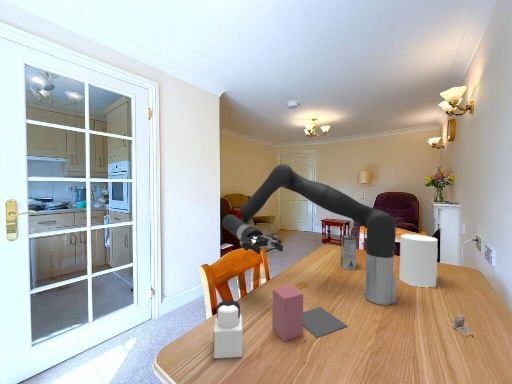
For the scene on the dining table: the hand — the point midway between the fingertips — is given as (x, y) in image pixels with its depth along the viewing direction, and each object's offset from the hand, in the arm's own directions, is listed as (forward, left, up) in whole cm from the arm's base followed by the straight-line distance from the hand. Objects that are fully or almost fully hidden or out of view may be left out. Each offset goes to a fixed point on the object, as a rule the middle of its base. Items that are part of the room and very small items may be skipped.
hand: (271, 249), depth 77 cm
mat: (-15, +3, -22) cm, 27 cm away
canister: (-66, -31, -22) cm, 76 cm away
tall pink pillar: (-5, +9, -22) cm, 24 cm away
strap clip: (-57, +4, -22) cm, 61 cm away
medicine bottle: (+11, +17, -22) cm, 30 cm away
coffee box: (-41, -48, -22) cm, 67 cm away
